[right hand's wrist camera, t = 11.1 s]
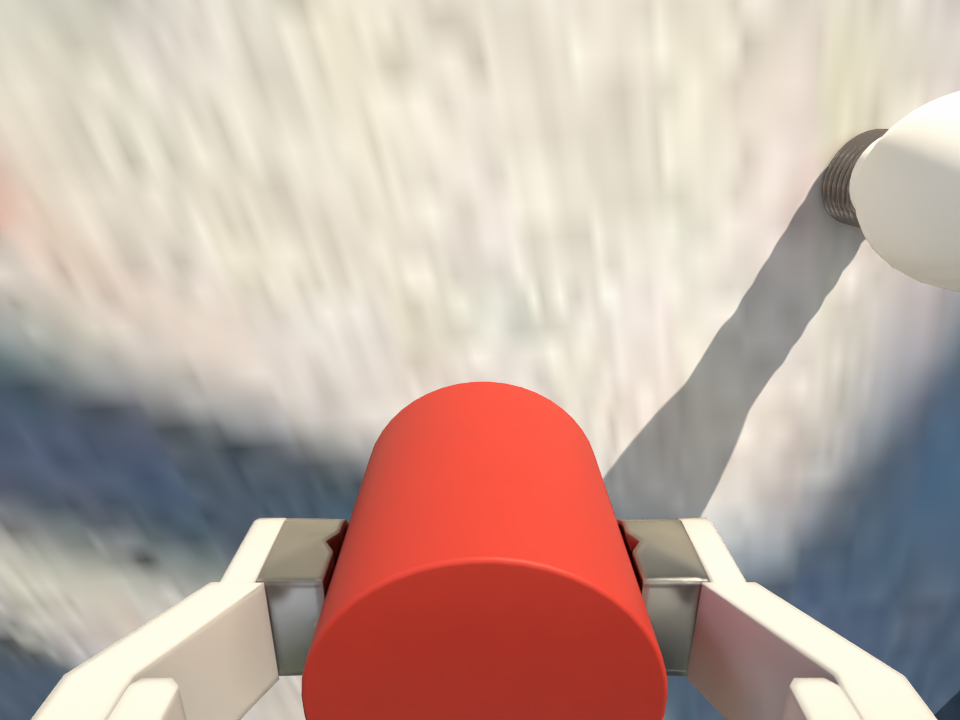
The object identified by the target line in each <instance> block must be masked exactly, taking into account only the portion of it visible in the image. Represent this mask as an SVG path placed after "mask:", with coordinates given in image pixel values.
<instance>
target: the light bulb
mask: <svg viewBox="0 0 960 720" xmlns="http://www.w3.org/2000/svg"><path fill="white" fill-rule="evenodd" d="M822 196H823V202H824V205H825V207H826V209H827V211H828V212H829V214H830V215H831V216H832V217H833V218H835V219H836V220H838V221H840V222H842V223H846V224H849V225H852V226H856V227H859V228H861V230H862V232H863V234H864V236H865V238H866V240H867V241H868V243H869V244H870V246H871V247H872V249H873V250H874V251H876V252H877V253H878V254H879V255H880V256H881V257H882V258H883V259H884V260H885V261H886V262H887V263H888V264H889V265H891V266H892V267H893V268H895V269H897V270H898V271H900V272H902V273H904V274H906V275H908V276H910V277H912V278H914V279H915V280H917V281H919V282H922V283H925V284H929V285H933V286H937V287H940V288H944V289H948V290H952V291H960V91H958V92H955V93H952V94H949V95H946V96H944V97H941V98H939V99H936V100H933V101H931V102H929V103H927V104H925V105H923V106H922V107H920V108H918V109H916V110H914V111H912V112H911V113H910V114H908V115H907V116H906V117H904V118H903V119H902V120H900V121H899V122H898V123H897V124H895V125H894V126H893V127H891V128H890V129H875V130H870V131H867V132H864V133H862V134H860V135H858V136H856V137H855V138H853V139H852V140H850V141H849V142H848V143H846V144H845V145H844V146H843V147H842V148H841V149H840V150H839V151H838V153H837V154H836V155H835V157H834V158H833V159H832V161H831V163H830V165H829V166H828V169H827V171H826V174H825V177H824V181H823V186H822Z"/></svg>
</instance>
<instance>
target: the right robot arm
mask: <svg viewBox="0 0 960 720" xmlns="http://www.w3.org/2000/svg"><path fill="white" fill-rule="evenodd" d="M617 523H618V526H619V529H620V532H621V535H622V538H623V541H624V544H625V547H626V550H627V553H628V556H629V559H630V562H631V565H632V568H633V571H634V574H635V577H636V580H637V583H638V586H639V589H640V592H641V595H642V597H643V600H644V603H645V606H646V609H647V612H648V615H649V618H650V621H651V624H652V627H653V630H654V633H655V636H656V639H657V642H658V645H659V648H660V651H661V654H662V657H663V661H664V665H665V670H666V674H667V675H673V676H687V678H686V679H687V680H688V681H689V682H690V683H691V684H692V685H693V686H694V687H695V688H696V689H697V690H698V691H699V692H700V693H701V694H702V695H703V696H704V697H705V698H706V699H707V700H708V701H709V702H710V703H711V704H712V706H713V707H714V708H715V709H716V710H717V711H718V712H719V713H720V714H721V715H722V716H723V717H724V718H725V719H726V720H937V719H936V717H935V716H934V715H933V713H932V712H931V711H930V709H929V708H928V707H927V705H926V704H925V703H924V701H923V700H922V699H921V697H920V696H919V695H918V693H917V692H916V691H915V690H914V688H913V687H912V686H911V684H910V683H909V682H908V680H907V679H906V678H905V676H903V675H902V674H900V673H899V672H897V671H896V670H894V669H892V668H891V667H889V666H888V665H886V664H884V663H883V662H881V661H880V660H878V659H876V658H875V657H873V656H872V655H870V654H868V653H867V652H865V651H864V650H862V649H861V648H859V647H857V646H856V645H854V644H853V643H851V642H849V641H848V640H846V639H845V638H843V637H841V636H840V635H838V634H837V633H835V632H834V631H832V630H830V629H829V628H827V627H826V626H824V625H822V624H821V623H819V622H818V621H816V620H814V619H813V618H811V617H810V616H808V615H806V614H805V613H803V612H802V611H800V610H799V609H797V608H795V607H794V606H792V605H791V604H789V603H787V602H786V601H784V600H783V599H781V598H779V597H778V596H776V595H775V594H773V593H771V592H770V591H768V590H767V589H765V588H764V587H762V586H760V585H759V584H757V583H754V582H746V581H745V579H744V577H743V575H742V574H741V572H740V570H739V569H738V567H737V565H736V563H735V562H734V560H733V558H732V556H731V555H730V553H729V551H728V550H727V548H726V546H725V544H724V543H723V541H722V539H721V538H720V536H719V534H718V532H717V531H716V529H715V527H714V526H713V524H712V522H711V521H710V520H709V519H707V518H678V519H668V520H618V521H617ZM348 525H349V524H348V522H347V520H346V519H307V518H288V519H286V518H259V519H257V520H255V521H254V522H253V523H252V525H251V527H250V529H249V531H248V532H247V534H246V536H245V538H244V539H243V541H242V543H241V545H240V547H239V548H238V550H237V552H236V554H235V555H234V557H233V559H232V561H231V563H230V564H229V566H228V568H227V570H226V571H225V573H224V575H223V577H222V579H221V580H220V582H212V583H209V584H207V585H206V586H204V587H202V588H201V589H199V590H198V591H196V592H195V593H193V594H191V595H190V596H188V597H187V598H185V599H184V600H182V601H180V602H179V603H177V604H176V605H174V606H172V607H171V608H169V609H168V610H166V611H165V612H163V613H161V614H160V615H158V616H157V617H155V618H153V619H152V620H150V621H149V622H147V623H146V624H144V625H142V626H141V627H139V628H138V629H136V630H134V631H133V632H131V633H130V634H128V635H127V636H125V637H123V638H122V639H120V640H119V641H117V642H116V643H114V644H112V645H111V646H109V647H108V648H106V649H104V650H103V651H101V652H100V653H98V654H97V655H95V656H93V657H92V658H90V659H89V660H87V661H85V662H84V663H82V664H81V665H79V666H78V667H76V668H74V669H73V670H71V671H70V672H68V673H66V674H65V675H64V676H63V677H62V679H61V680H60V681H59V683H58V684H57V685H56V687H55V688H54V689H53V691H52V692H51V693H50V695H49V696H48V697H47V699H46V700H45V701H44V703H43V704H42V705H41V707H40V708H39V709H38V711H37V712H36V713H35V715H34V716H33V717H32V719H31V720H240V719H241V718H242V717H243V716H244V715H245V714H246V713H247V712H248V711H249V710H250V709H251V708H252V707H253V706H254V705H255V704H256V703H257V701H258V700H259V699H260V698H261V697H262V696H263V695H264V694H265V693H266V692H267V691H268V690H269V689H270V688H271V687H272V686H273V685H274V684H275V683H276V682H277V681H278V680H279V676H292V675H303V671H304V666H305V661H306V658H307V654H308V651H309V648H310V645H311V642H312V639H313V636H314V632H315V629H316V626H317V623H318V620H319V617H320V614H321V610H322V607H323V604H324V601H325V598H326V595H327V591H328V588H329V585H330V582H331V579H332V576H333V573H334V569H335V566H336V563H337V560H338V557H339V554H340V551H341V547H342V544H343V541H344V538H345V535H346V532H347V529H348Z"/></svg>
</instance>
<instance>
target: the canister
mask: <svg viewBox="0 0 960 720" xmlns="http://www.w3.org/2000/svg"><path fill="white" fill-rule="evenodd" d="M666 700H667V674H666V670H665V665H664V661H663V657H662V654H661V651H660V648H659V645H658V642H657V639H656V636H655V633H654V630H653V627H652V624H651V621H650V618H649V615H648V612H647V609H646V606H645V603H644V600H643V597H642V595H641V592H640V589H639V586H638V583H637V580H636V577H635V574H634V571H633V568H632V565H631V562H630V559H629V556H628V553H627V550H626V547H625V544H624V541H623V538H622V535H621V532H620V529H619V526H618V523H617V520H616V517H615V514H614V511H613V508H612V505H611V502H610V500H609V497H608V494H607V491H606V488H605V485H604V482H603V479H602V476H601V473H600V470H599V467H598V464H597V461H596V458H595V455H594V452H593V450H592V448H591V445H590V443H589V441H588V439H587V437H586V436H585V434H584V432H583V431H582V429H581V428H580V427H579V425H578V424H577V423H576V422H575V421H574V419H573V418H572V417H571V416H570V415H568V414H567V413H566V412H565V411H564V410H563V409H562V408H560V407H559V406H558V405H556V404H555V403H553V402H552V401H551V400H549V399H547V398H545V397H543V396H541V395H539V394H537V393H535V392H532V391H530V390H527V389H524V388H522V387H518V386H513V385H509V384H504V383H495V382H470V383H462V384H456V385H452V386H448V387H444V388H441V389H438V390H436V391H433V392H431V393H428V394H426V395H424V396H422V397H421V398H419V399H417V400H415V401H413V402H412V403H411V404H409V405H408V406H407V407H405V408H404V409H402V410H401V411H400V412H399V413H398V414H397V415H396V416H395V417H394V418H393V419H392V420H391V421H390V422H389V424H388V425H387V426H386V427H385V429H384V430H383V431H382V433H381V435H380V436H379V438H378V440H377V442H376V443H375V446H374V448H373V451H372V454H371V456H370V459H369V462H368V466H367V469H366V472H365V475H364V478H363V481H362V484H361V488H360V491H359V494H358V497H357V500H356V503H355V506H354V510H353V513H352V516H351V519H350V522H349V525H348V529H347V532H346V535H345V538H344V541H343V544H342V547H341V551H340V554H339V557H338V560H337V563H336V566H335V569H334V573H333V576H332V579H331V582H330V585H329V588H328V591H327V595H326V598H325V601H324V604H323V607H322V610H321V614H320V617H319V620H318V623H317V626H316V629H315V632H314V636H313V639H312V642H311V645H310V648H309V651H308V654H307V658H306V661H305V666H304V671H303V676H302V701H303V708H304V714H305V718H306V720H663V717H664V714H665V707H666Z"/></svg>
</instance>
